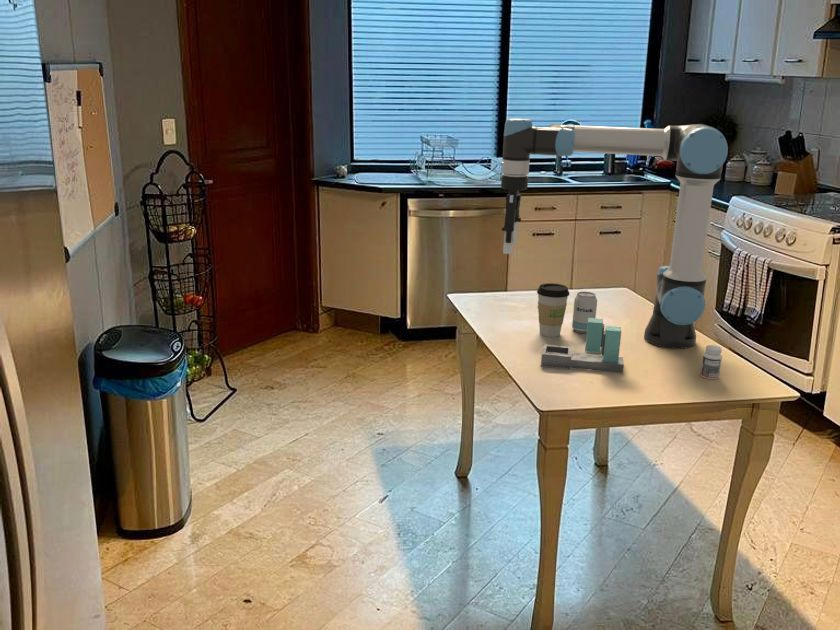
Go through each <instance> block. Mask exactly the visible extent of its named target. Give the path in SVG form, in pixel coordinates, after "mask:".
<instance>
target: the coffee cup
mask: <svg viewBox="0 0 840 630" xmlns="http://www.w3.org/2000/svg"><path fill="white" fill-rule="evenodd" d="M536 294H537V297H538V300H537V308H538V311H537V312H538V313H537V314H538V323H539V334H540V335H541V336H542V337H543V336H544V337H547V338H557V337H559V336H560V335H561V330H562V325H563V324H564V319H565V315H566V309H567V304H568V303H567V301H568V297H569V296H570V291H569V289H568V287H567V285H565V284H559V283H553V282H552V283H551V282H549V283H541V284H540V285H539V287H538V288H537V289H536Z"/></svg>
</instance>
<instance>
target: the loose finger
mask: <svg viewBox="0 0 840 630" xmlns="http://www.w3.org/2000/svg"><path fill="white" fill-rule="evenodd" d="M604 331H605V324H604V319H603V318H599V317H598V318H597V317H596V318H588V326H587V333H586V335H585V336H586V338H585V352H587V353H597V354H600V353H601V350H602V342H603V332H604Z"/></svg>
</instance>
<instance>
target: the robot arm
mask: <svg viewBox="0 0 840 630" xmlns="http://www.w3.org/2000/svg"><path fill="white" fill-rule="evenodd" d="M728 151H729V149H728V142H727V140H726V138H725V136H724V134H723V133H722V132H721V131H720V130H719V129H717V128H715V127H713V126H710V125H707V124H704V123H697V124H696V123H695V124H694V123H693V124H685V125H667V126H666V127H665V128H648V127H647V128H645V127H625V126H624V127H622V126H599V125H598V126H597V125H595V126H594V125H571V124H562V123H552V124H550V125H548V126H546V127H543V126H541V127H540V126H539V127H538V126H534V125H533V121H532V119H530V118H515V117H514V118H508V119H507V120H505V123H504V131H503V144H502V161H501V162H500V163H499V165H500V166H502V167H501V173H502V175H501V176H500V178H501V179H500V187H501V189H503V190H507V191H508V194H506V196H505V202H506V203H505V215H504V216H505V218H504V226H503V227H501V231H503V244H502V245H503V247H502V249H503V250H502V254H503V255H513V254H514V245H518V237H519V223H520V222H521V221H522V217H520V206H521V200H522V199H521V198H522V195H521V194H520V193H521V191H525V190H527V189H528V186H529V185H528V183H529V177H528V176H527V175H529V174H530V173H529V172H530V156H531V155H538V156H539V155H541V156H542V155H543V156H557V157H570V156H572V155H573V154H574V152H575V153H589V154H590V153H591V154H593V153H594V154H611V155H629V156H631V155H633V156H650V157H661V158H662V159H663V160H664V161H672V162H673V161H675V162H676V168H675V177H676V178H677V180H678V181H679V191H678V200H677V206H676V207H677V208H676V214H675V223H674V230H673V239H672V245H671V246H672V247H671V253H670V261H669V265H661V266H660V267H659V268H658V271H657V274H656V278H657V279H656V287H655V292H654V293H655V294H654V299H653V300H654V301H653V309H652V315H651V316H650V319H649V321H648V323H647V325H646V327H645V329H644V333H643V334H644V335H643V338H644V340H645V341H646V342H648V343H650V344H652V345H654V346H657V347H662V348H668V349H669V348H670V349H688V348H692V347H694V346H695V345H696V342H697V333H696V326H695V322H697V321H698V320H699V319H700V318H701V317H702V315H704V312H705V310H706V300H705V290H706V282H707V276H706V275H705V274H704V273H703V263H704V256H705V249H706V242H707V237H708V236H707V235H708V234H707V233H708V228H709V221H710V215H711V207H712V200H713V192H714V187H715V185H716V184H717V183H718V182H720V180H721V178H722V173H723V167H724V166H723V165H724V163H725V162H726V160H727V157H728V153H729V152H728Z"/></svg>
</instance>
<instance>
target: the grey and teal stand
mask: <svg viewBox="0 0 840 630" xmlns="http://www.w3.org/2000/svg"><path fill="white" fill-rule="evenodd" d="M621 339H622V327H621V326H613V325H605V329H604V332H603V342H602V347H601V350H600V353H601V354H592V353H583V352H582V353H581V352H573V347H572V346H565V345H564V346H563V345H562V346H561V345H554V344H553V345H552V344H543V345H542V352H541V361H540V367H544V368H556V369H567V370H571V369H577V370H578V369H579V370H587V371H588V370H589V371H598V372H606V373H607V372H609V373H618V374H624V366H625V365H624V364H625V362H624V357H621V356H620V347H621Z"/></svg>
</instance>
